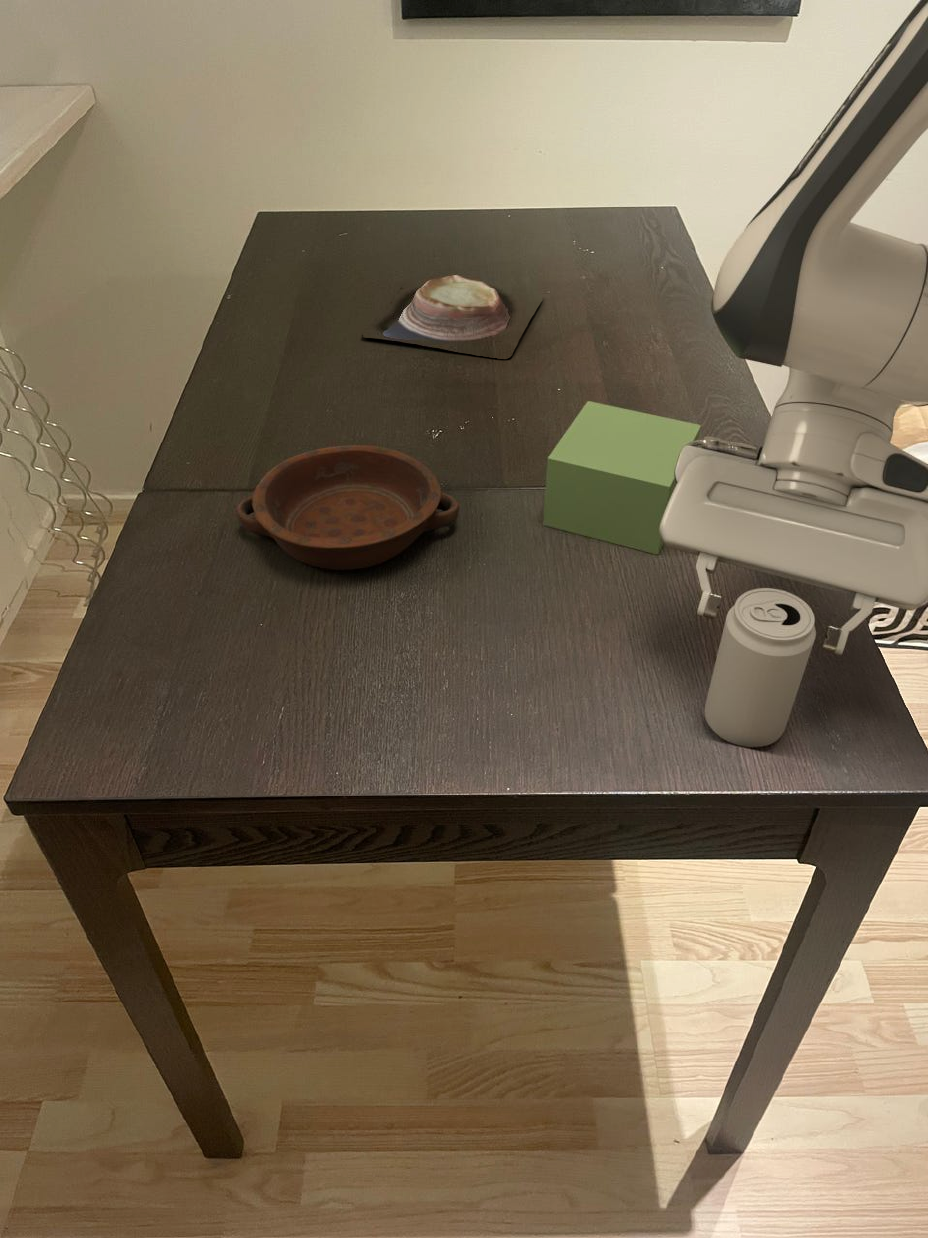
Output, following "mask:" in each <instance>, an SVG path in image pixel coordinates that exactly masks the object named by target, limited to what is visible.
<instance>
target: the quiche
mask: <svg viewBox="0 0 928 1238" xmlns="http://www.w3.org/2000/svg"><path fill="white" fill-rule="evenodd" d="M498 292H499V291H497V290H496V289H495V288H493V287H491V286H489V284H487V282H484V281H482V280H481V281H480V280H478V279H469V278H465V277H464V276H460V275H459V274H452V275H448V276H447V275H446V276H443V277H438V278H432V279H430V280H428V281H426V283H425V284H424V285H423V286H422V287H421V288H419V289H418V290H417V291H416V293H415V295H414V298H413V300H412V302H411V303H410V304H409V305H408V306H407V307H406V308H405V309H404V310H403V312H402V314H401V316H400V318H399V320H398V321H397V322H396V323H394V324H393V325H392V326H390V327H389V328H388V329H387V330H385V331H384V332H383V335H384V336H386V337H390V338H395V339H404V340H419V341H439V342H465V341H471V340H476V339H481V338H485V337H489V336H493V335H496V334H498V333H501V332H502V331H504V330H505V328H506V326H507V323H508V321H509V319H510V316H509V314H508V309H507V308H506V307H505V305H504V304H503V302H502V300H501V298H500V296H499V294H498Z"/></svg>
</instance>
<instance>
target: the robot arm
mask: <svg viewBox="0 0 928 1238" xmlns="http://www.w3.org/2000/svg"><path fill="white" fill-rule="evenodd" d="M927 130H928V0H919V1H918V2H917V3H916V5H915V6H914V7H913V9H912V10H911V11H910V12H909V13H908V15H907V16H906V18H904V20H903V21H902V23H901V24H900V25H899V27H898V28H897V29H896V30H895V32H894V33H893V35H892V36H891V37H890V39H889V40H888V41H887V43H886V44H885V46H883V48H882V50H881V51H880V52H879V53H878V54H877V56H876V57H875V58H874V60H873V62H871V64H870V66H869V67H868V68H867V70H866V71H865V72H864V74H863V75H862V76H861V78H860V80H859V81H858V82H857V83H856V85H855V86H854V87H853V89H852V90H851V92H850V93H849V94H848V96H847V97H846V98H845V100H844V101H843V102H842V103H841V105H840V107H839V108H838V110H836V112H835V113H834V115H833V116H832V117H831V119H830V120H829V122H828V123H827V124H826V126H825V127H824V129H823V130H822V131H821V133H820V134H819V135H818V137H817V138H816V139H815V141H814V142H813V144H811V146H810V148H809V149H808V150H807V152H806V153H805V154H804V156H803V157H802V158H801V160H800V161H799V163H798V164H797V165H796V167H795V168H794V169H793V171H792V172H791V174H789V176H788V177H787V178H786V180H785V181H784V182H783V184H782V185H781V186H780V187H779V188H778V189H777V191H775V193H773V195H772V196H771V197H770V198H769V200H767V201H766V203H765V204H764V205H763V206H762V207H761V208H760V209H759V210H758V212H757V213H756V214H755V215H754V216H753V218H752V219H751V220H750V221H749V223H748V224H747V225H746V227H745V228H744V230H743V231H742V232H741V233H740V234H739V236H738V237H737V238H736V239H735V241H734V242H733V244H732V245H731V247H730V248H729V249H728V251H727V253H726V255H725V257H724V259H723V261H722V264H721V265H720V268H719V271H718V274H717V277H716V281H715V284H714V288H713V294H712V297H711V303H710V312H711V313H712V318H713V320H714V322H715V325H716V326H717V328H718V331H719V332H720V334H721V336H722V338H723V339H724V341H725V343H726V344H727V346H728V347H729V349H730V350H731V351H732V353H733V354H734V356H735V357H736V358H739V359H742V360H747V361H752V362H756V363H761V364H765V365H770V366H773V367H774V366H775V367H779V368H782V367H786V368H789V369H788V379H787V383H786V386H785V388H784V390H783V392H782V394H781V395H780V397H779V398H778V399H777V401H776V403H775V405H774V407H773V411H772V414H771V416H770V421H769V424H768V428H767V430H766V434H765V436H764V440H763V444H762V446H757V445H752V444H747V443H742V442H736V441H735V442H734V441H727V440H723V439H722V438H719V437H717V436H716V437H715V436H704V437H703V439H699V440H695V441H692V442H690V443H688V444H687V445H686V446H684V447H683V449H682V450H681V452H680V454H679V457H678V460H677V463H676V466H675V470H674V478H675V481H676V484H677V485H676V487H675V489H674V491H673V493H672V495H671V498H670V500H669V502H668V504H667V507H666V509H665V512H664V515H663V517H662V520H661V523H660V527H659V533H660V536H661V538H662V540H663V542H664V545H665V546H666V547H667V548H668V549H671V550H675V551H677V552H683V553H687V554H691V555H694V556H698V558H697V561H696V564H695V569H696V573H697V577H698V581H699V585H700V589H701V592H702V594H701V598H700V601H699V604H698V608H697V612H696V615H697V616H699V617H703V618H706V619H710V620H714V621H716V620H717V618H718V615H719V610H718V609H720V608H721V605H722V602H723V596H721V595H717V594H715V593H712V588H711V584H710V580H709V576H708V573H709V574H712V575H713V574H716V572H717V571H716V570H717V568H718V564H719V562H721V563H725V564H728V565H732V566H736V567H741V568H744V569H747V570H751V571H755V572H758V573H764V574H767V575H770V576H774V577H778V578H782V579H786V580H790V581H793V582H797V583H801V584H806V585H810V586H813V587H817V588H821V589H825V590H829V591H832V592H836V593H840V594H844V595H847V596H851V597H853V598H852V601H851V605H850V611H852V612H854V613H856V614H854V615H853V616H852V617H851V618H850V619H849V620H848V621H846V622H845V623H844V624H843V625H842V626H841V627H835V626H832V625H828V626H827V628H826V631H825V634H824V637H825V639H824V640H823V642H822V645H821V648H820V650H822V651H824V652H827V653H830V654H834V655H839V656H842V655H843V652H844V650H845V648H846V644H847V641H848V637H849V634H850V633H851V632H852V631H853V630H854V629H856V628H857V627H858V626H859V625H860V624H861V623H862V622H864V621H865V620H866V618H868V617H869V616H871V614H872V613H873V610H874V607H875V603H878V604H882V605H886V606H889V607H894V608H898V609H902V610H905V611H910V612H911V611H915V610H917V609H920V608H922V607H923V606H925V605H927V604H928V463H927V462H926V461H924V460H921V459H920V458H917V457H916V456H914V455H912V454H910V453H909V452H907V451H905V450H903V449H902V448H901V447H900V448H899V447H898V446H896V445H894V444H893V443H892V442H891V441H892V439H893V436H894V435H893V434H894V420H895V416H896V413H897V411H898V410H899V409H900V408H901V407H902V406H913V407H919V408H921V407H928V245H927V244H924V243H915V242H912V241H909V240H906V239H903V238H901V237H897V236H895V235H894V236H893V235H892V234H891V235H890V234H888V233H885V232H882V231H879V230H875V229H872V228H868V227H866V226H862V225H860V224H856V223H853V222H851V221H852V220H853V218H854V217H855V216H856V215H857V214H858V213H859V211H860V210H861V209H862V208H863V206H864V205H865V204H866V203H867V202H868V200H869V199H870V198H871V197H872V195H874V193H875V192H876V190H878V188H879V187H880V186H881V185H882V184H883V182H884V181H885V180H886V179H887V178H888V176H889V175H890V174H891V172H892V171H893V170H894V169H895V167H896V166H897V165H898V164H899V163H900V161H901V160H902V159H903V158H904V157H905V156H906V154H907V153H908V152H909V151H910V149H911V148H912V147H913V146H914V145H915V144H916V142H917V141H918V140H919V138H920V137H921V136H922V135H923V134H924V133H925V132H927ZM696 445H697V447H694V446H696ZM698 446H701V447H698Z"/></svg>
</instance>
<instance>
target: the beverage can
mask: <svg viewBox="0 0 928 1238" xmlns="http://www.w3.org/2000/svg"><path fill="white" fill-rule="evenodd" d="M815 620H816V618H815V614H814V612H813V610H812V608H811V607H810V606H809V604H808V603H807V602H805V601H804V600H803V599H802V598H800V597H799V596H798V595H795V594H794V593H791V592H788V591H786V590H782V589H778V588H773V587H771V588H769V587H761V588H755V589H750V590H748V591H745V592H744V593H742V594H740V596H739V597H738V598H737V599H736V601H735V603H734V605H733V606H731V607H730V609H729V611H728V612H727V614H726V617H725V622H724V626H723V631H722V634H721V638H720V643H719V647H718V651H717V653H716V654H717V655H716V659H715V663H714V667H713V671H712V676H711V680H710V683H709V688H708V692H707V696H706V699H705V704H704V717H705V721H706V723H707V724H708V726H709V728H710V729H711V730H712V731H713V732H714V733H715V734H716V735H717V736H718V737H720V738H721V739H723V740H725V741H726V742H729V743H731V744H733V745H736V746H739V747H744V748H760V747H765V746H769V745H771V744H773V743H775V742H776V741H779V739H780V738H781V737H782V736H783V734H784V732H785V730H786V727H787V724H788V721H789V719H790V714H791V713H792V709H793V707H794V704H795V700H796V699H797V698H796V697H797V694H798V692H799V691H798V690H799V689H800V685H801V682H802V680H803V676H804V673H805V671H806V668H807V664H808V661H809V659H810V655H811V653H812V649H813V646H814V643H815V640H816V638H817V637H816V636H817V631H816V627H815Z"/></svg>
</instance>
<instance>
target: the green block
mask: <svg viewBox="0 0 928 1238" xmlns="http://www.w3.org/2000/svg"><path fill="white" fill-rule="evenodd" d="M701 428H702V425H701V424H698V423H693V422H688V421H683V420H679V419H675V418H669V417H665V416H660V415H655V414H650V413H647V412H646V413H645V412H641V411H637V410H633V409H627V408H622V407H618V406H613V405H609V404H605V403H599V402H595V401H590V400H587V401H586V403H585V404H584V406H582V408H581V410H580V411H579V413H578V414H577V415H576V417H575V418H574V420H573V421H572V423H570V426H569V427H568V428H567V430H566V431H565V432H564V434H563V435H562V437H561V438H560V440H559V441H558V442H557V444H556V445H555V447H554V448H553V449H552V451H551V452H550V454H549V456H547V462H546V477H545V479H546V480H545V490H544V491H545V493H544V507H543V523H542V525H543V526H545V527H549V528H553V529H557V530H561V531H564V532H567V533H572V534H576V535H578V536H579V535H580V536H584V537H587V538H591V539H595V540H598V541H603V542H607V543H611V544H614V545H618V546H622V547H625V548H630V549H634V550H638V551H641V552H645V553H648V554H649V553H650V554H653V555H657V556H658V555H660V552H661V550H662V549H663V547H664V545H665V543H664V542H663V540H662V538H661V536H660V533H659V527H660V523H661V520H662V517H663V515H664V512H665V509H666V507H667V504H668V502H669V500H670V498H671V495H672V493H673V491H674V489H675V487H676V485H677V484H676V481H675V478H674V470H675V466H676V463H677V460H678V457H679V454H680V452H681V450H682V449H683V447H684V446H686V445H687V444H688V443H690V442H692V441H695V440H700V434H701ZM694 447H698V445H696V446H694Z"/></svg>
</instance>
